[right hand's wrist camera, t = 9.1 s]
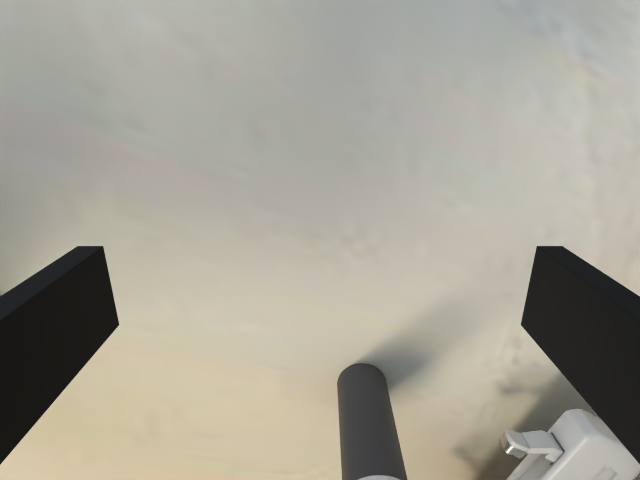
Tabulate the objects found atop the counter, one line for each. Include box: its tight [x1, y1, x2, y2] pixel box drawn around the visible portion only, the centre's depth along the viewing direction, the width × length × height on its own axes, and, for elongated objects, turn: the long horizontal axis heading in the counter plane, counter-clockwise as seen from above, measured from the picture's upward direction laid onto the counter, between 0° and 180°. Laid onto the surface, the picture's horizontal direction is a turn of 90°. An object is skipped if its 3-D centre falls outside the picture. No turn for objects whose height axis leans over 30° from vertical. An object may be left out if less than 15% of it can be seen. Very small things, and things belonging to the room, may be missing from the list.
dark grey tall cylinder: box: [337, 364, 407, 480], centre depth 37 cm, size 5×5×15 cm
